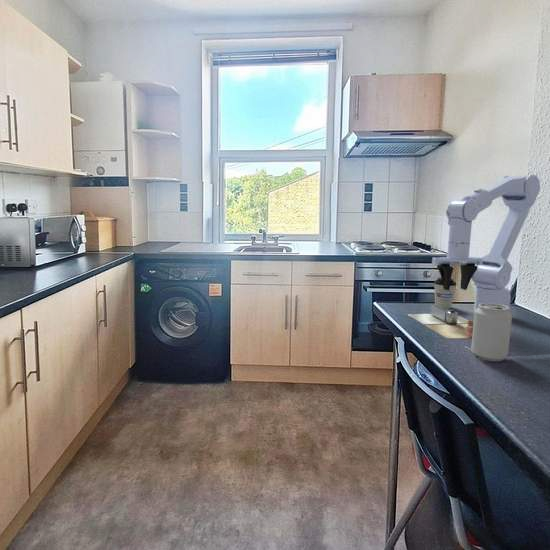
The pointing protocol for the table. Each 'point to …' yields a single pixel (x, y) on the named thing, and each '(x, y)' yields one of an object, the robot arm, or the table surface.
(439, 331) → the board
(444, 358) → the table surface
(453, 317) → the latch
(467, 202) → the robot arm
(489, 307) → the can
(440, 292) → the coffee cup
